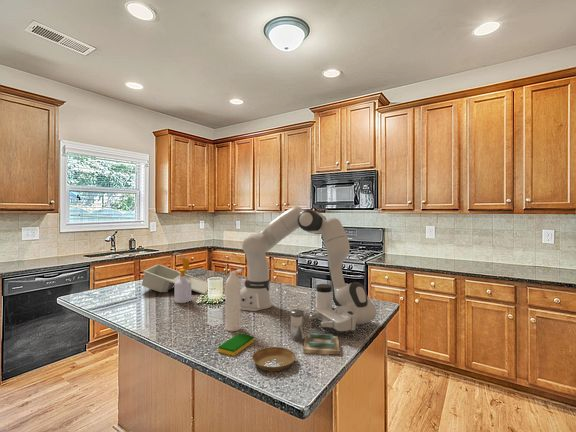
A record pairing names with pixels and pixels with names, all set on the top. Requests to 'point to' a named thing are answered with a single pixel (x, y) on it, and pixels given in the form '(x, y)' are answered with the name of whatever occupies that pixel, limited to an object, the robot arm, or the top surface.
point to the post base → (321, 344)
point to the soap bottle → (183, 285)
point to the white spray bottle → (233, 302)
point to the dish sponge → (236, 344)
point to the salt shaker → (296, 324)
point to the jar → (323, 295)
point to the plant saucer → (273, 353)
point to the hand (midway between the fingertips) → (315, 320)
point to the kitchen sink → (169, 279)
